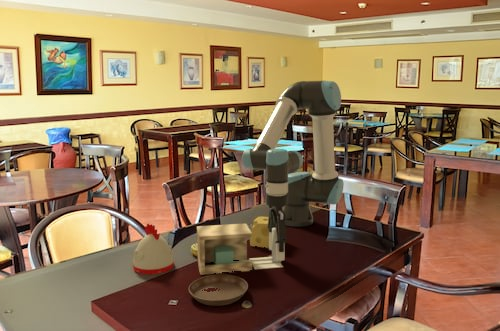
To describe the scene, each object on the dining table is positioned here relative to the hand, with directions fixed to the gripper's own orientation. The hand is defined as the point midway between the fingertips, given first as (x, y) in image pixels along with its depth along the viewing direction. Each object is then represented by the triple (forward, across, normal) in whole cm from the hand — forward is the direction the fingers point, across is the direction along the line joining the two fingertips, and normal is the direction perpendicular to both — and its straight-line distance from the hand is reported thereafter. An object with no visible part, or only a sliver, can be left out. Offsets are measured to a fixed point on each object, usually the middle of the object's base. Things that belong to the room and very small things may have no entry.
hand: (276, 254), depth 161 cm
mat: (+3, 0, -4) cm, 5 cm away
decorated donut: (+3, -14, -24) cm, 28 cm away
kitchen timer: (+3, -5, -43) cm, 43 cm away
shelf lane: (+3, 0, -19) cm, 19 cm away
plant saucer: (+3, +22, -23) cm, 32 cm away
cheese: (+3, -20, +1) cm, 20 cm away
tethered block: (+2, 0, -10) cm, 10 cm away
